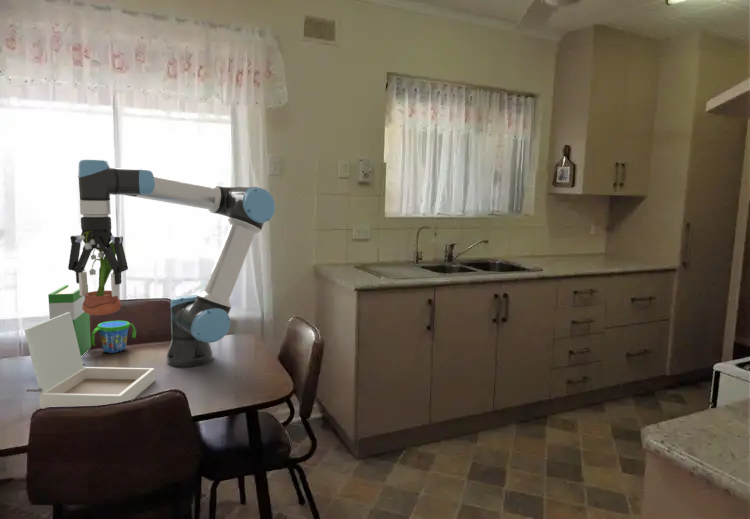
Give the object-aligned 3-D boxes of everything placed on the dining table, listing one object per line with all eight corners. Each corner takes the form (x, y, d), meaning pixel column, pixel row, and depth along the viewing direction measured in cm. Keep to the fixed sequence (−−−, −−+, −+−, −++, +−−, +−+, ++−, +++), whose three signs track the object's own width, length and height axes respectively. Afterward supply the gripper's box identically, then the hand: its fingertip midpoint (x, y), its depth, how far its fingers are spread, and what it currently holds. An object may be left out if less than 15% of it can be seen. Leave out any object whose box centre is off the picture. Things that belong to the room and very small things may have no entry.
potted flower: (100, 319, 142) (95, 228, 138) (68, 316, 144) (63, 227, 141) (129, 310, 153) (125, 225, 150) (99, 307, 155) (95, 224, 152)
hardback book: (69, 348, 193) (65, 284, 189) (91, 347, 194) (87, 284, 191) (52, 363, 176) (48, 294, 172) (76, 362, 178) (72, 293, 174)
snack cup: (131, 343, 200) (130, 317, 199) (141, 349, 193) (140, 323, 191) (87, 351, 189) (85, 324, 188) (96, 358, 182) (94, 330, 181)
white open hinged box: (154, 380, 162) (152, 312, 160) (121, 410, 141) (117, 332, 138) (73, 378, 162) (69, 311, 159) (27, 408, 141) (21, 330, 138)
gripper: (139, 216, 149) (142, 293, 152) (66, 214, 149) (70, 291, 152) (127, 217, 141) (130, 298, 144) (49, 215, 141) (54, 296, 144)
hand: (99, 295), depth 148 cm, fingers closed on potted flower, 8 cm apart
